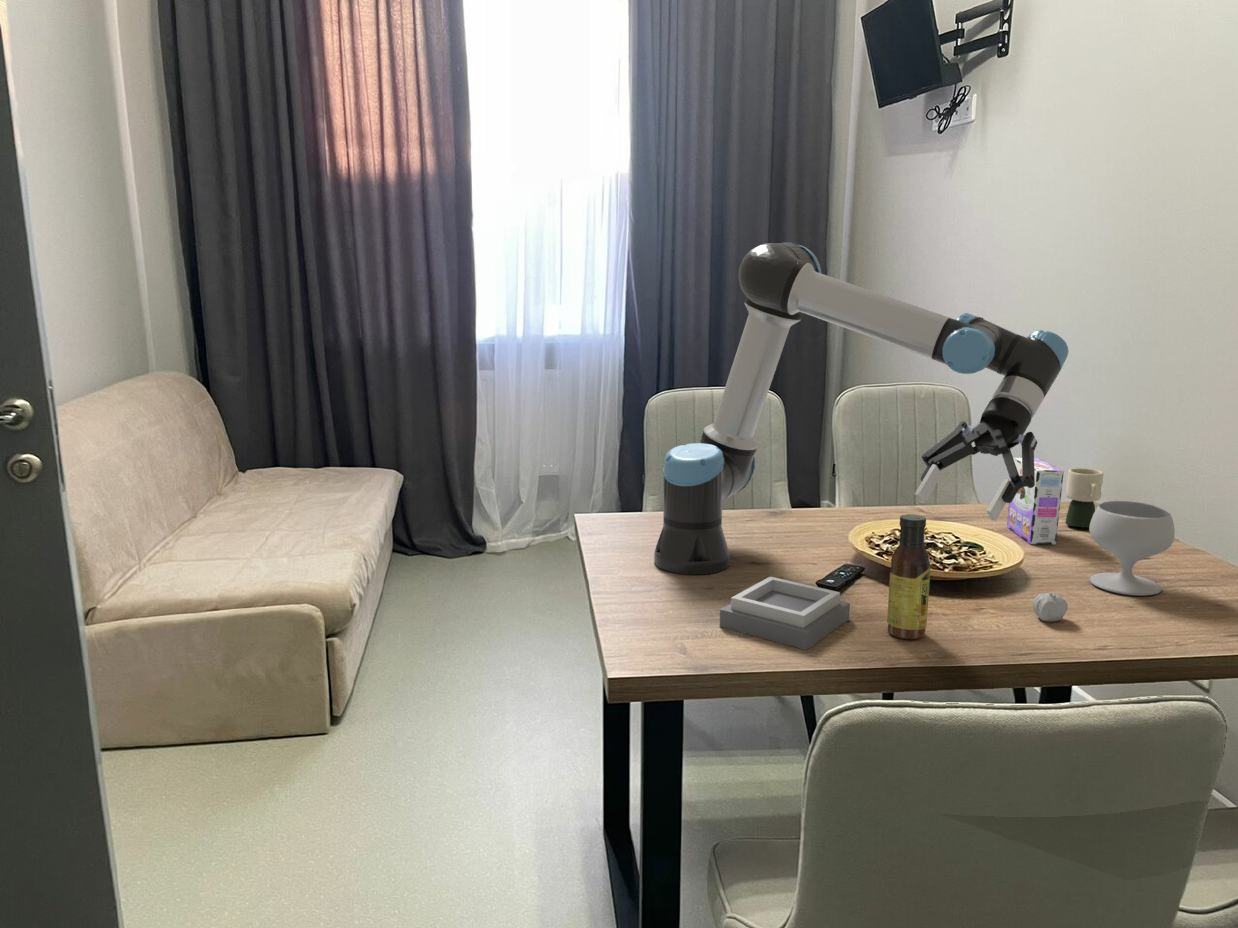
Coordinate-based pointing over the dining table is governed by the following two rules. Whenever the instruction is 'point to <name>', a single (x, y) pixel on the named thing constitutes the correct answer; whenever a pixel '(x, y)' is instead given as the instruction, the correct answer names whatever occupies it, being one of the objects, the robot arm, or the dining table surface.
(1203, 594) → the dining table surface
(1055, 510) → the candy box
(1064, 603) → the garlic
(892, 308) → the robot arm
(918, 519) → the sauce bottle
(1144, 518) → the chalice
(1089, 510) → the character mug
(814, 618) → the pedestal
